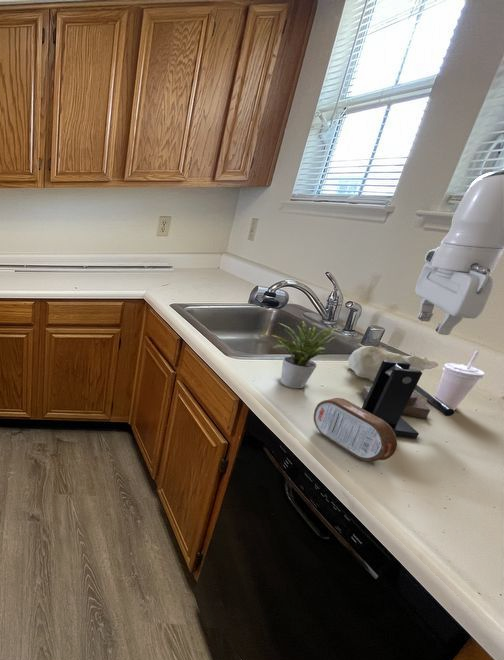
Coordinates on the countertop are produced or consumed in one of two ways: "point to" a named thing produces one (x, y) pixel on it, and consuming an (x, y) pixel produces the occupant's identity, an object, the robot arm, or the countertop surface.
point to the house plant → (301, 356)
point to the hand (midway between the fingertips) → (431, 326)
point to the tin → (355, 429)
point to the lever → (429, 397)
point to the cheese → (371, 359)
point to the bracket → (393, 396)
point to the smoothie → (457, 382)
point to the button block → (408, 404)
